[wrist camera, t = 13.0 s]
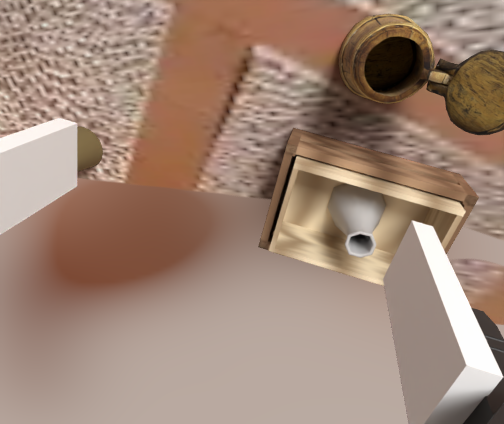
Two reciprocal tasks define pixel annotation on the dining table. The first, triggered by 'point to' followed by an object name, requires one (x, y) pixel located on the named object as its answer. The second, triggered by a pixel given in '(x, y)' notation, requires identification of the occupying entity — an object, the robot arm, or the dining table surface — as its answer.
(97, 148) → the cork
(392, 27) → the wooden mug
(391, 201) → the pine crate
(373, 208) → the flask
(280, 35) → the dining table surface
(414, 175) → the wooden drawer box
